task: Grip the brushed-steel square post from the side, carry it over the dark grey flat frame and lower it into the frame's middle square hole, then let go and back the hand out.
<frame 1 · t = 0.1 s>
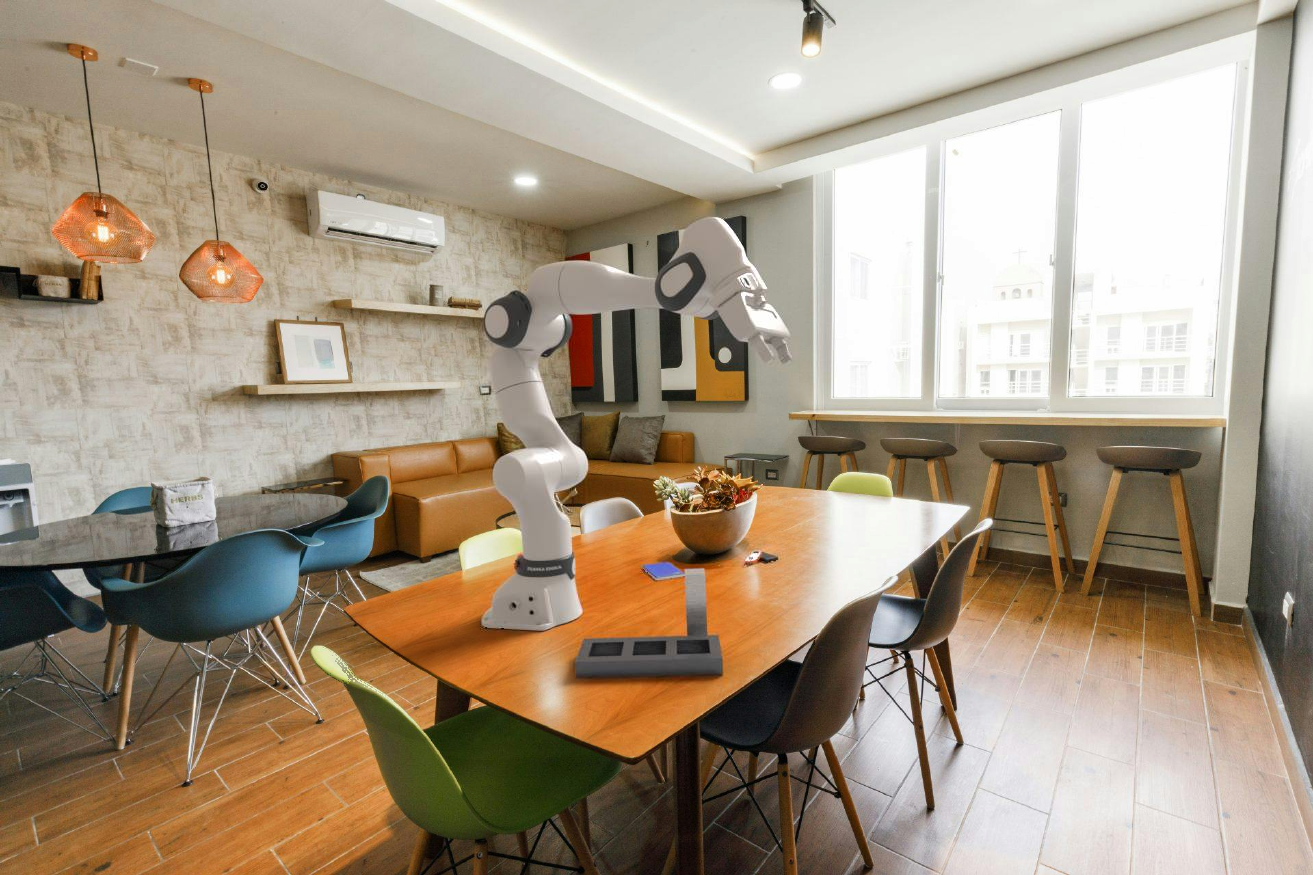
hand: (779, 361, 103), 54 cm above the table, tool tilted 30°, fingers open, 8 cm apart
multimeter: (750, 566, 169), on the table
dark grey flat frame: (650, 663, 109), on the table
hard drive: (663, 575, 165), on the table
post: (697, 639, 118), on the table
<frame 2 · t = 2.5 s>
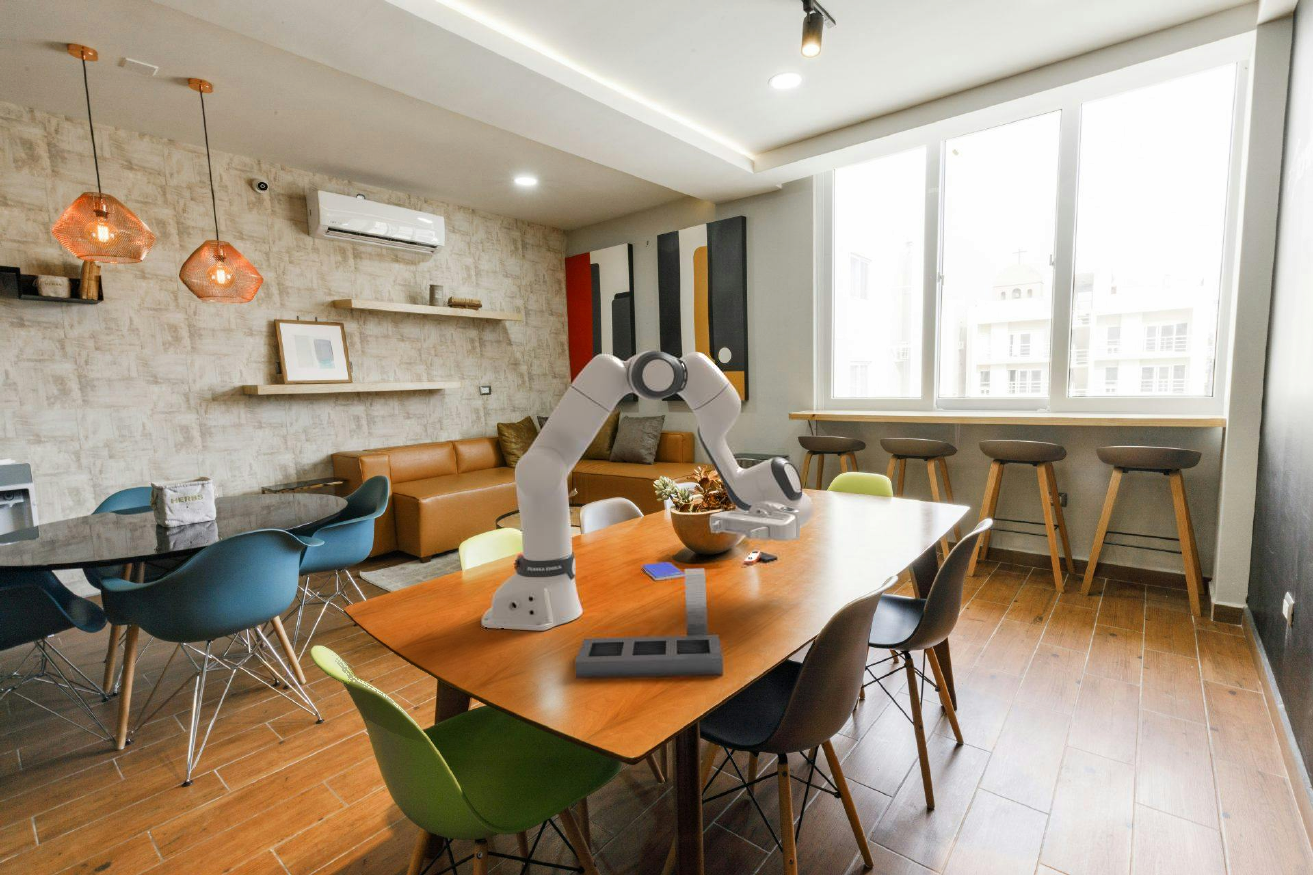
hand: (730, 532, 126), 20 cm above the table, tool horizontal, fingers open, 8 cm apart
nothing on the table moved.
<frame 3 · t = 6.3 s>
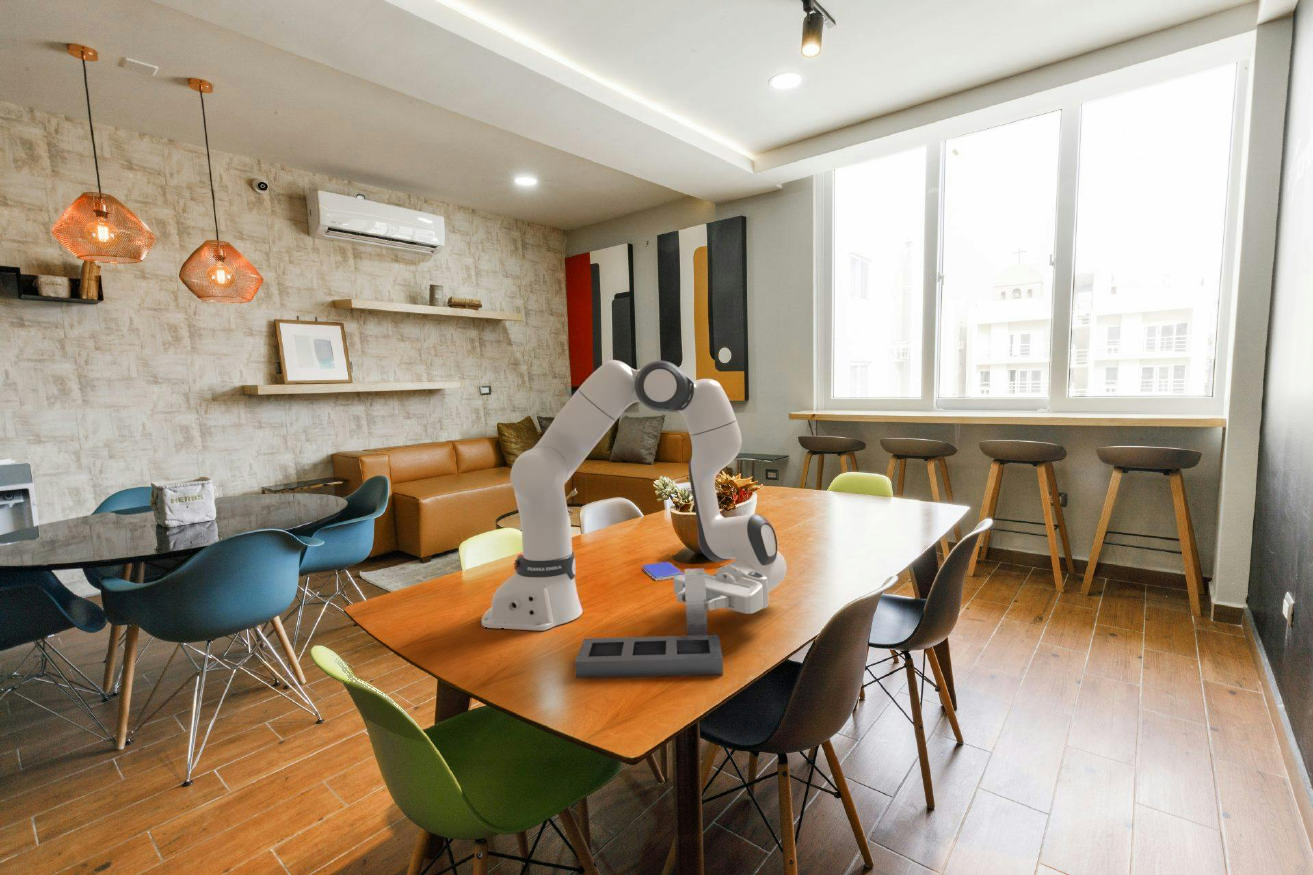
hand: (692, 602, 117), 8 cm above the table, tool horizontal, fingers closed on post, 6 cm apart
post: (697, 639, 118), on the table, touching gripper
everything else where it was.
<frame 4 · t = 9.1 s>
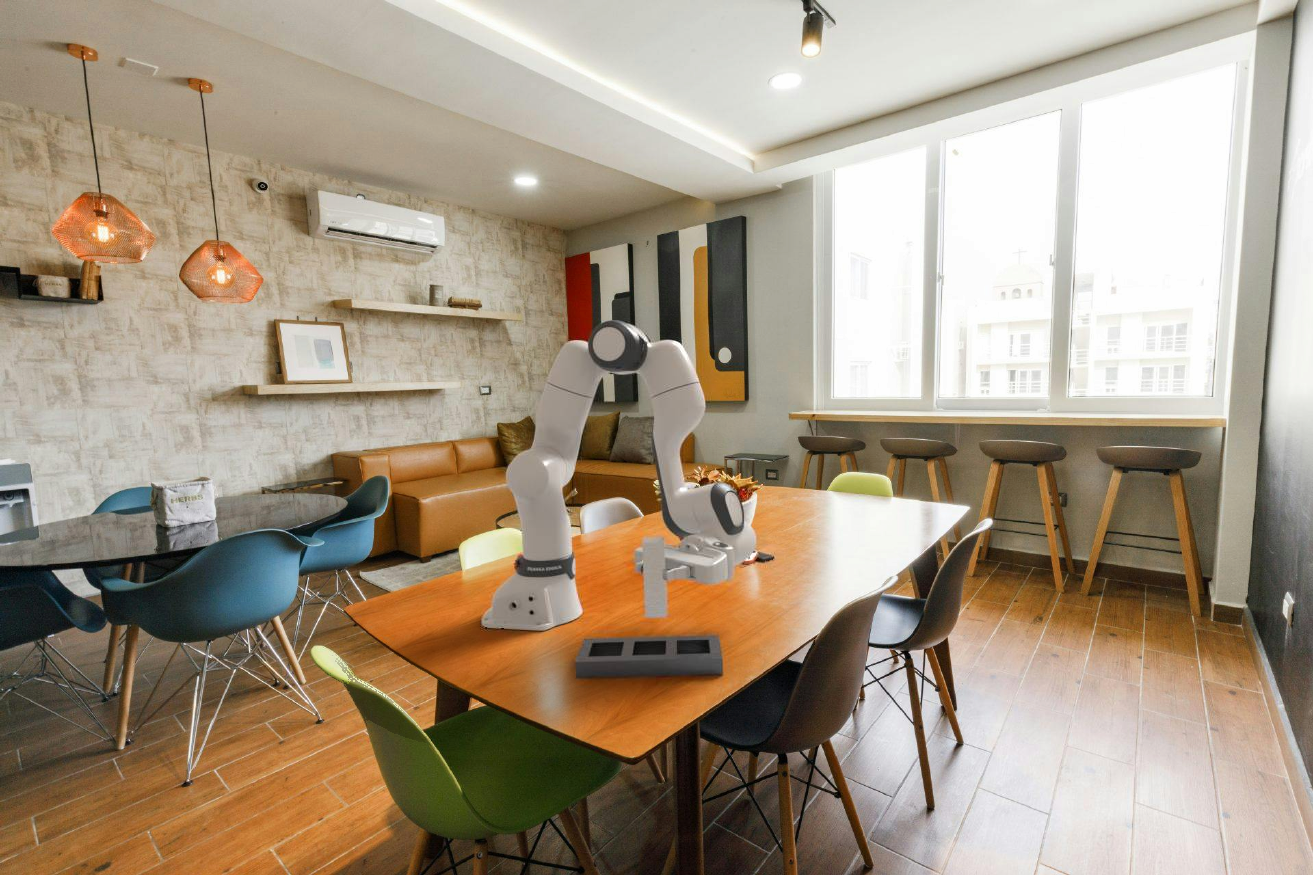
hand: (651, 572, 109), 17 cm above the table, tool horizontal, fingers closed on post, 6 cm apart
post: (656, 613, 110), point 9 cm above the table, touching gripper
everything else where it was.
when the fingers open (10 cm above the table, at t = 11.5 s): post drops 2 cm, resting in dark grey flat frame.
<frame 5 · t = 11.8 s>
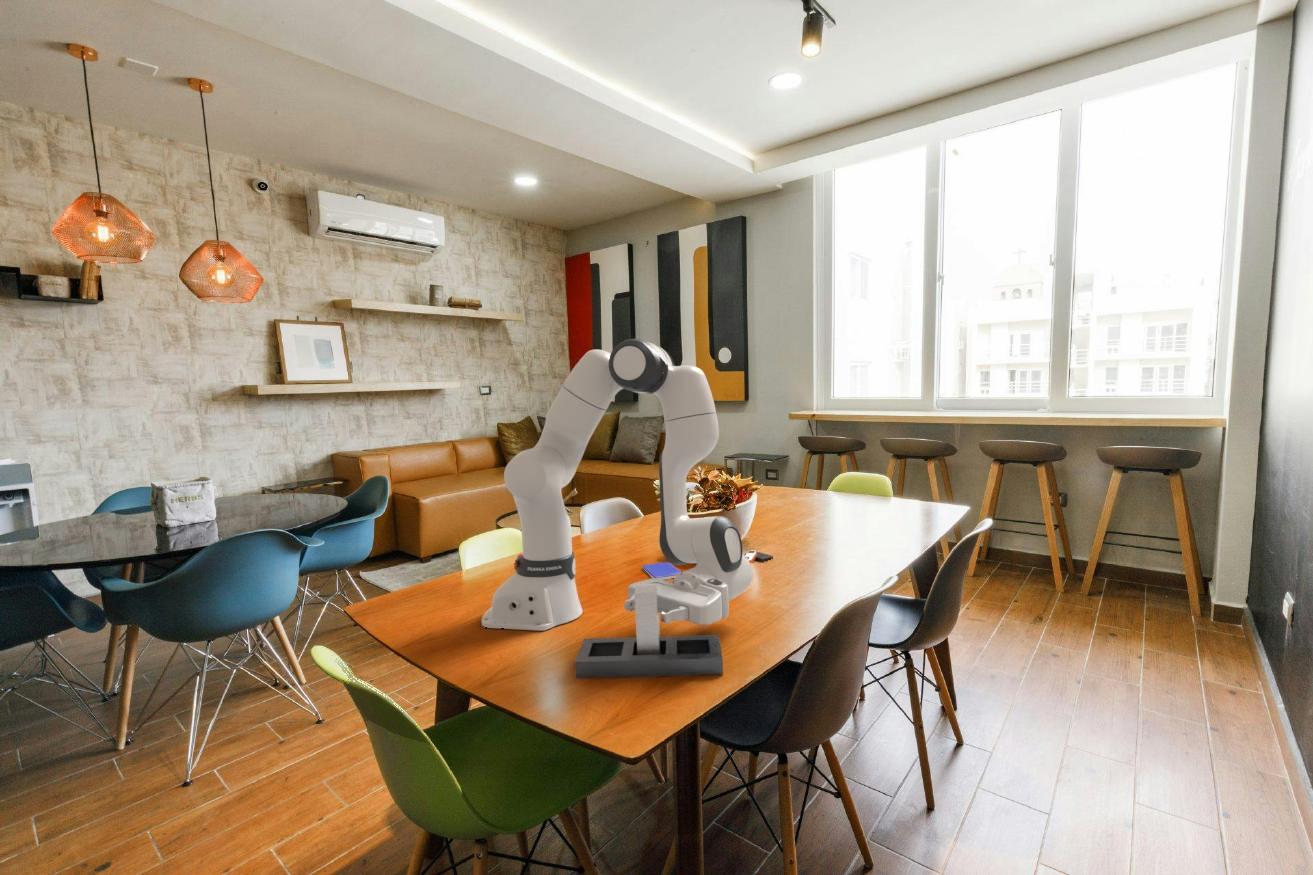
hand: (644, 612, 107), 10 cm above the table, tool horizontal, fingers open, 8 cm apart
post: (649, 663, 109), resting in dark grey flat frame
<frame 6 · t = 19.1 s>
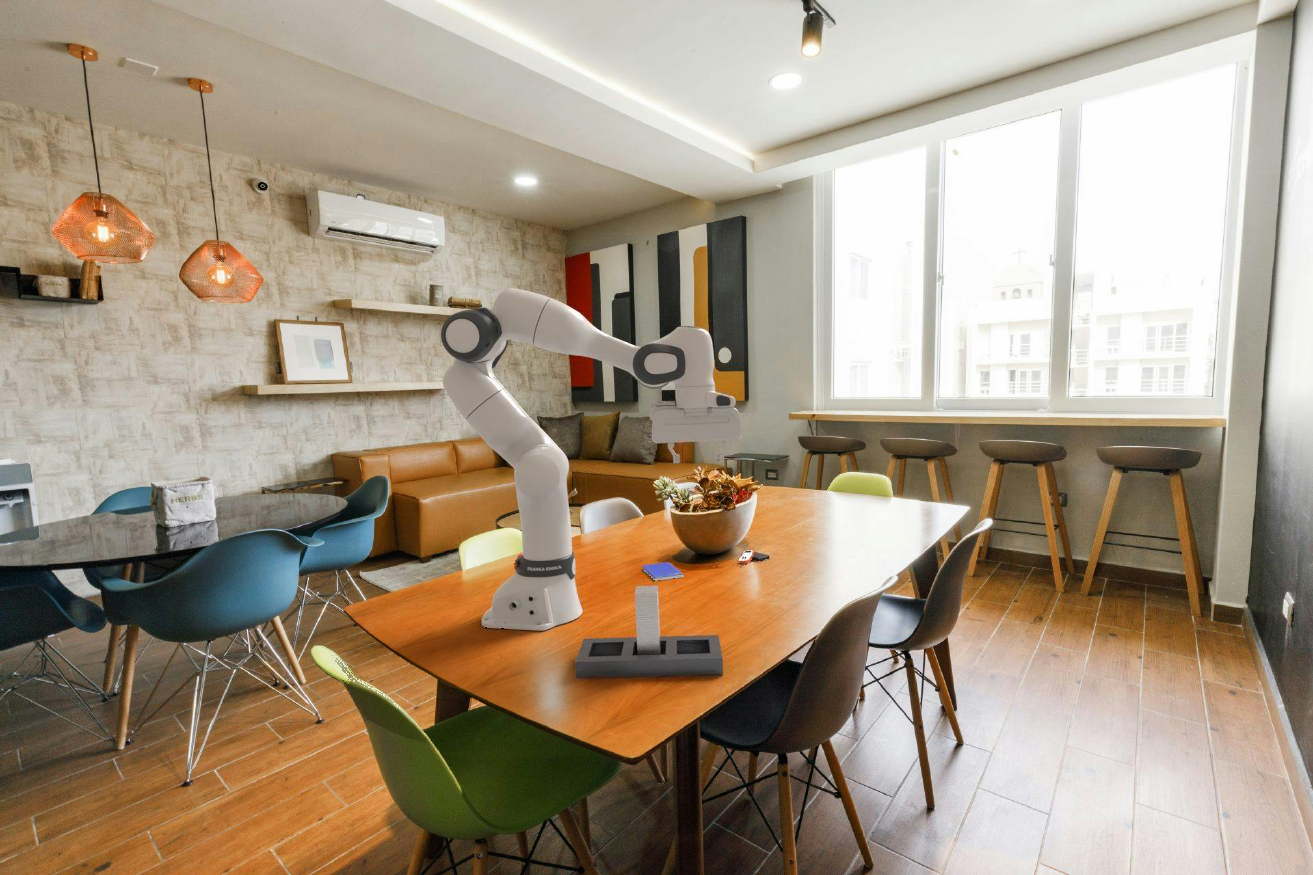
hand: (697, 461, 132), 34 cm above the table, tool pointing down, fingers open, 8 cm apart
at the end: post 0.1 cm off-centre on the dark grey flat frame, point 0.0 cm above the dark grey flat frame's base; post tilted 0°; the gripper is holding nothing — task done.
